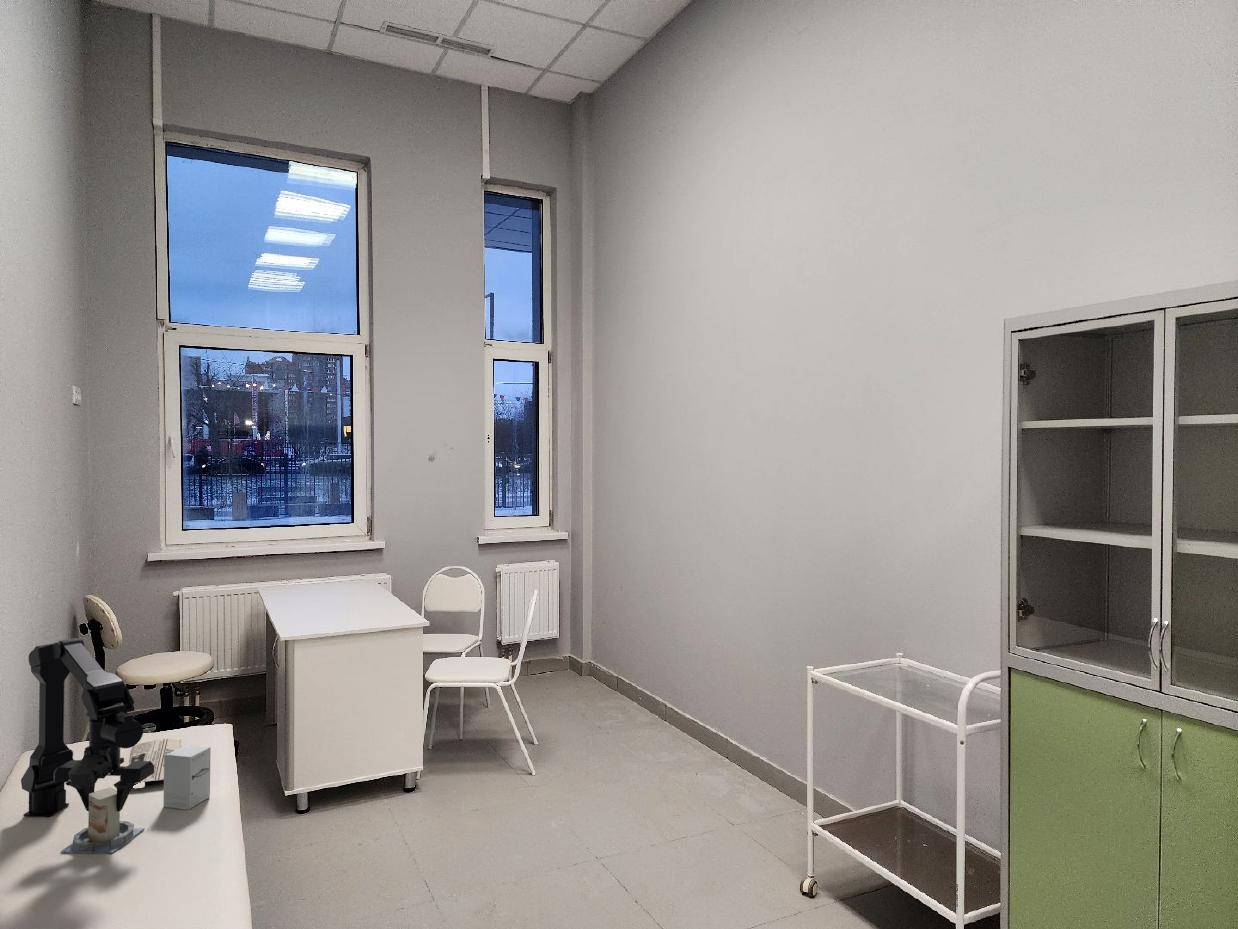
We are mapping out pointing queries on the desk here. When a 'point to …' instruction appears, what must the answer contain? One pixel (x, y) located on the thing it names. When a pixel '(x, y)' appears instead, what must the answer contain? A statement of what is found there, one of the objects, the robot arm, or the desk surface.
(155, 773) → the newspaper
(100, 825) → the skincare box
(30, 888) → the desk surface
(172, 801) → the supplement box
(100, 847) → the collar
